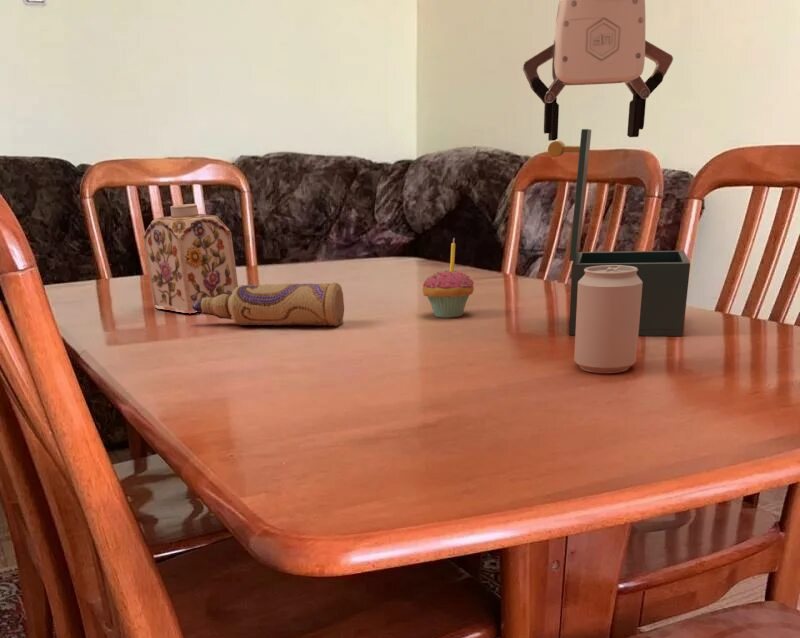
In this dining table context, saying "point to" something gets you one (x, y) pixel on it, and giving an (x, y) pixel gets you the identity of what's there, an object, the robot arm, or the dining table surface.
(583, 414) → the dining table surface
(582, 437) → the dining table surface
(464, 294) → the cupcake
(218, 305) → the decorative bottle
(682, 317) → the chest
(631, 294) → the can
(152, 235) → the decorative jar
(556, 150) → the lid
